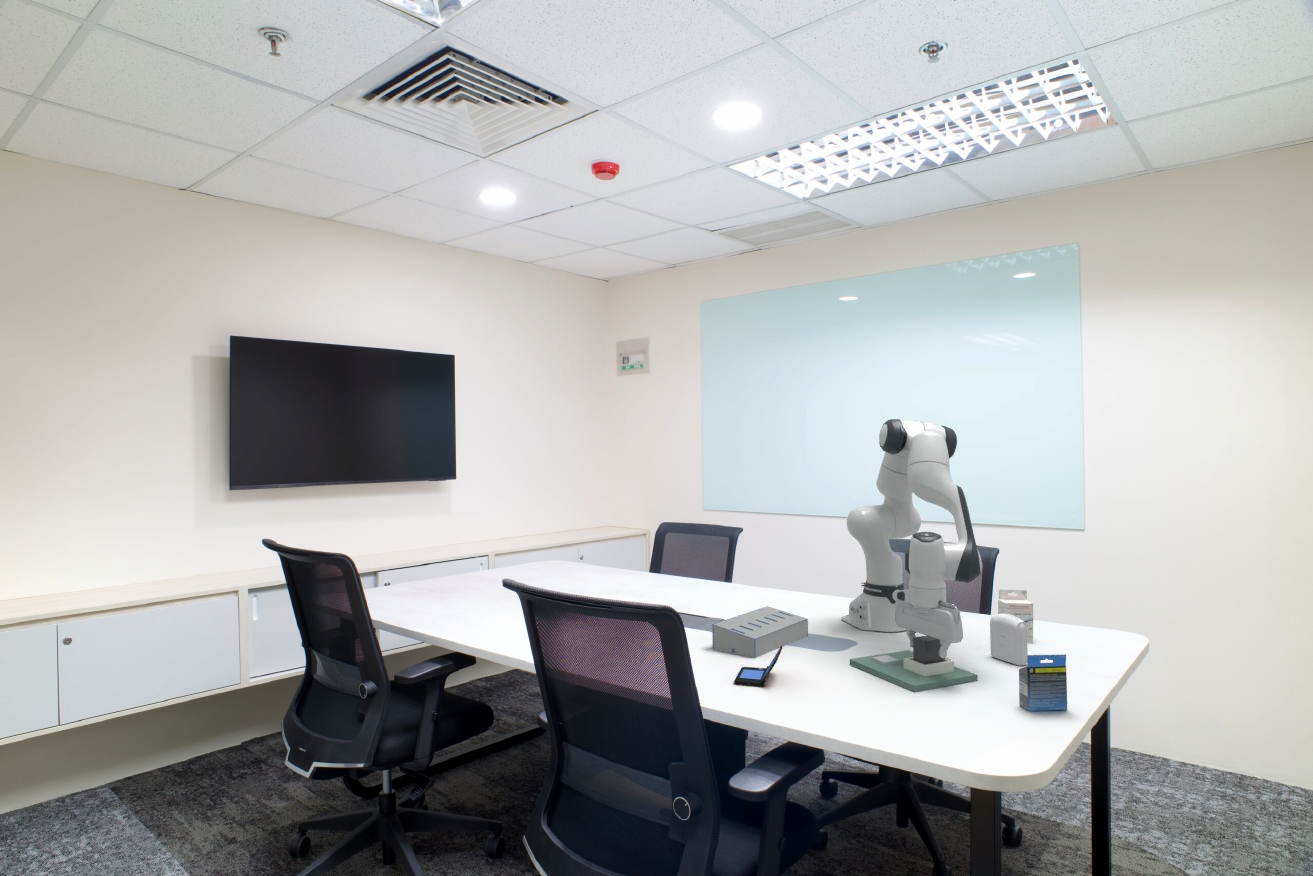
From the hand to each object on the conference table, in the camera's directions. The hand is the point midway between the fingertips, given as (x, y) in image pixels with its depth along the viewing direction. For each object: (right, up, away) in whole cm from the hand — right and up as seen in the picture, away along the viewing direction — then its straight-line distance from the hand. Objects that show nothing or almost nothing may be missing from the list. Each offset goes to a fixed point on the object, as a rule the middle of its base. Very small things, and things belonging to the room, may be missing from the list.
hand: (927, 652), depth 187 cm
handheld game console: (-43, -7, -1) cm, 43 cm away
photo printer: (+26, -6, +12) cm, 30 cm away
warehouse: (-37, -7, +33) cm, 50 cm away
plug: (0, -4, 0) cm, 4 cm away
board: (-3, -6, +3) cm, 7 cm away
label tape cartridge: (+17, -6, -23) cm, 29 cm away
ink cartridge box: (+38, -6, +33) cm, 51 cm away
